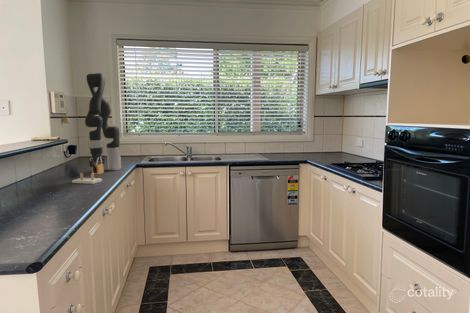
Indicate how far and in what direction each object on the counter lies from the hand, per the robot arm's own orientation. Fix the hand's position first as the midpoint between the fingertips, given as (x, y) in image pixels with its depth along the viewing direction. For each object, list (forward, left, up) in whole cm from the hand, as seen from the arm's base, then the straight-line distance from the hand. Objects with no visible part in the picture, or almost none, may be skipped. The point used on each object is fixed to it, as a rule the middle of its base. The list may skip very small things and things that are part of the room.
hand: (97, 171), depth 214 cm
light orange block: (0, 0, -1) cm, 1 cm away
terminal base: (+12, +1, -4) cm, 13 cm away
